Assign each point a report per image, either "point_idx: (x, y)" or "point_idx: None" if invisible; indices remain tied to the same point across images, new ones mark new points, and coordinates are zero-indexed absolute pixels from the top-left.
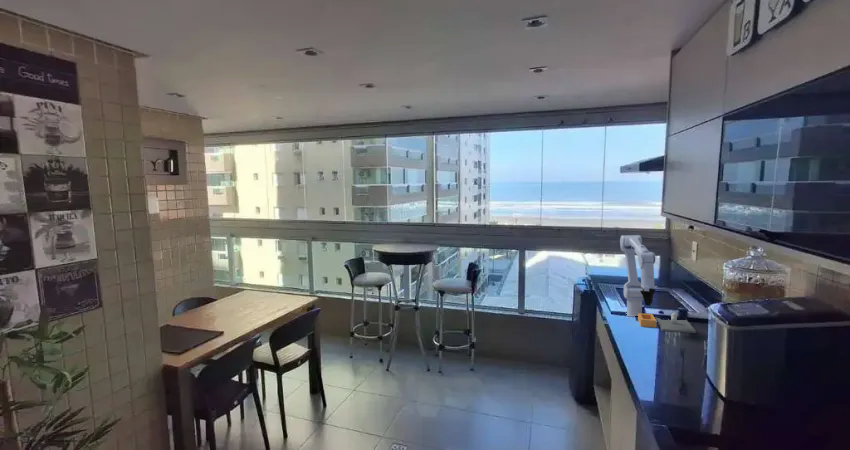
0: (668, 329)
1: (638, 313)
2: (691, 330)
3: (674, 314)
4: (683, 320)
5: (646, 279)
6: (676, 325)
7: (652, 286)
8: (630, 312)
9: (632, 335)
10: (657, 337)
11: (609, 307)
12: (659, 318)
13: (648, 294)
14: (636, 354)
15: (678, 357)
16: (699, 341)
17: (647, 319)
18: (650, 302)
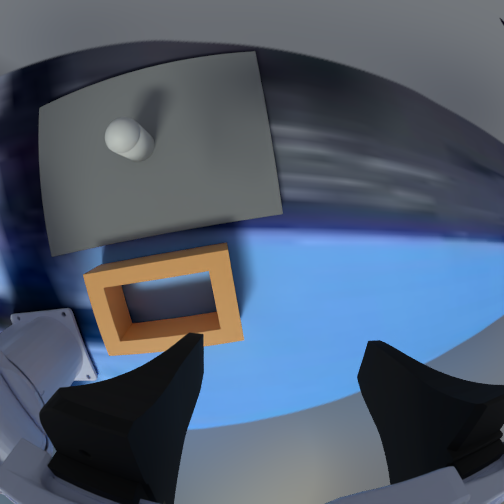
0: (277, 178)
1: (112, 352)
2: (249, 67)
3: (131, 128)
4: (72, 108)
5: None
6: (178, 132)
7: (486, 502)
8: (76, 375)
9: (381, 335)
10: (381, 237)
11: None
12: (73, 229)
13: (435, 430)
14: (500, 292)
15: (499, 186)
16: (361, 70)
17: (222, 304)
18: (400, 355)
